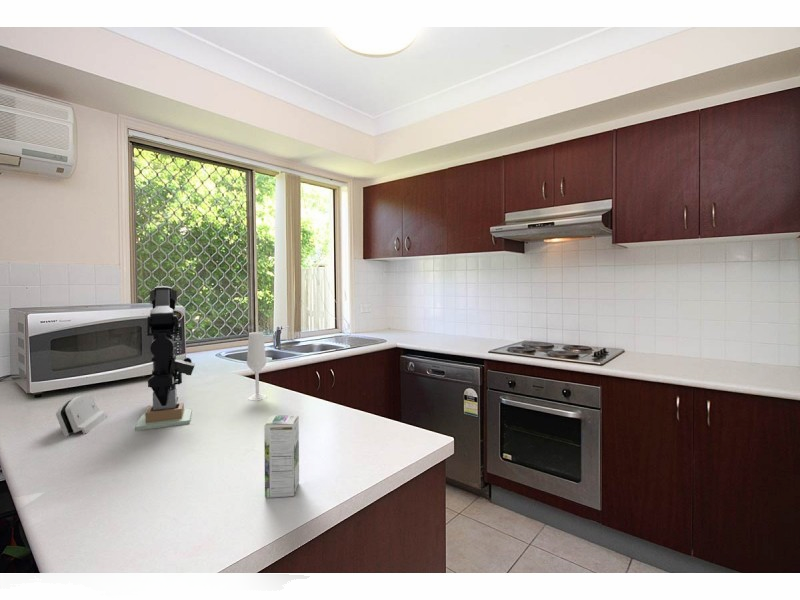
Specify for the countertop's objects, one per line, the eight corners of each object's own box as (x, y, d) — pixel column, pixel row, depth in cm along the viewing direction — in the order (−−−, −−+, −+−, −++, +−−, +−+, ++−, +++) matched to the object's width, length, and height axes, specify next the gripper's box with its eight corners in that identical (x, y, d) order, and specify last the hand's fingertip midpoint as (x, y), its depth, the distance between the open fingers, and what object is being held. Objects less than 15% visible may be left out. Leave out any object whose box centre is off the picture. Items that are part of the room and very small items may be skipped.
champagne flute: (247, 396, 154) (245, 332, 153) (265, 394, 156) (264, 331, 156) (248, 401, 148) (246, 334, 147) (268, 399, 150) (266, 333, 149)
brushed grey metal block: (155, 416, 128) (154, 390, 128) (177, 413, 131) (176, 388, 131) (153, 419, 125) (152, 392, 125) (175, 416, 127) (175, 390, 127)
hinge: (85, 434, 116) (69, 402, 115) (66, 441, 115) (50, 409, 114) (107, 416, 132) (94, 388, 131) (91, 423, 131) (77, 394, 130)
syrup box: (271, 484, 85) (269, 414, 85) (300, 483, 86) (298, 413, 85) (264, 498, 80) (262, 424, 79) (295, 497, 80) (294, 423, 80)
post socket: (142, 417, 131) (142, 404, 131) (192, 411, 136) (191, 399, 136) (135, 430, 119) (134, 416, 119) (189, 423, 124) (189, 410, 124)
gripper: (190, 355, 121) (192, 408, 122) (194, 347, 139) (195, 393, 139) (146, 358, 117) (148, 413, 118) (156, 349, 134) (157, 397, 135)
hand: (165, 403), depth 127 cm, fingers open, 5 cm apart
